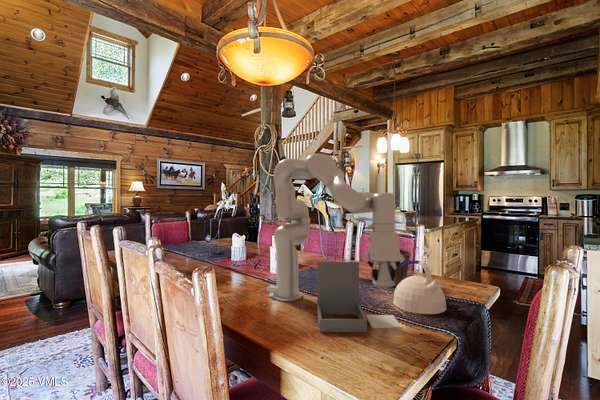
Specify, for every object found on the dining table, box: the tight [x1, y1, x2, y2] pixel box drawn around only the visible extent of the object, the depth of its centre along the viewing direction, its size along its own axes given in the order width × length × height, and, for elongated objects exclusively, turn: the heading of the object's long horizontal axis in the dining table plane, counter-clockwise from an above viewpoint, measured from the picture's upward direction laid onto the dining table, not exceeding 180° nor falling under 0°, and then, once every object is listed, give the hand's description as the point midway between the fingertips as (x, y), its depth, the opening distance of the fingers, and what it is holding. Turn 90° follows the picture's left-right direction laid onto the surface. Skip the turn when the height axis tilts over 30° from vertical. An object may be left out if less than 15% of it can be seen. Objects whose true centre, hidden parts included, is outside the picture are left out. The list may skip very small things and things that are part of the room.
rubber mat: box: [365, 314, 403, 330], centre depth 109 cm, size 10×10×1 cm
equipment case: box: [316, 261, 368, 333], centre depth 110 cm, size 16×16×20 cm
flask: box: [372, 262, 395, 288], centre depth 109 cm, size 7×7×10 cm
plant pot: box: [388, 249, 412, 288], centre depth 155 cm, size 16×16×16 cm
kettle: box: [392, 260, 447, 315], centre depth 126 cm, size 20×21×18 cm
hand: (383, 279), depth 109 cm, fingers closed on flask, 5 cm apart
